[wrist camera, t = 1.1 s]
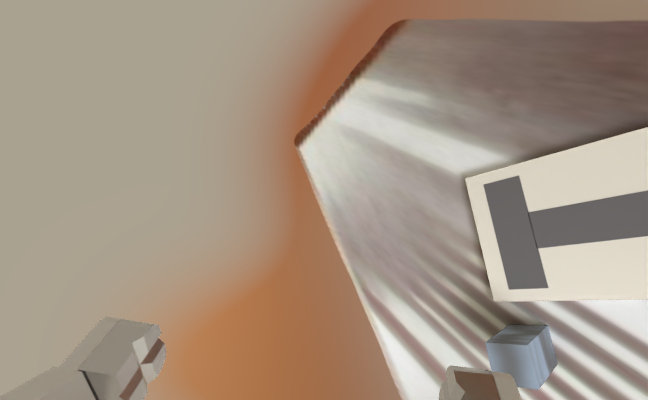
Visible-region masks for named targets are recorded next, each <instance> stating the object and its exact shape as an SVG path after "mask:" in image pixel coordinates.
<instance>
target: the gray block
mask: <svg viewBox="0 0 648 400" xmlns="http://www.w3.org/2000/svg"><path fill="white" fill-rule="evenodd" d="M485 344H486V348H487V352H488V357H489V361H490V366H491V370H492V372H501V373H508V374H510V375H511V376H512V377H513V378H514V381H515V383H516V386H517V387H522V388H529V389H536V390H539V388H540V387H541V386H542V384H543V383H544V382H545V380H546V379H547V378H548V376H549V375H550V374H551V372H552V371H553V370H554V368H555V367H556V366H557V360H556V356H555V352H554V348H553V344H552V340H551V336H550V333H549V329H548V326H539V325H508V326H507V327H506V328H504V329H503V330H501V331H500V332H499V333H497V334H496V335H495V336H493V337H492V338H491V339H489V340H488V341H487V342H485Z"/></svg>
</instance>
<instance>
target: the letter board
mask: <svg viewBox="0 0 648 400" xmlns="http://www.w3.org/2000/svg"><path fill="white" fill-rule="evenodd" d="M465 181H466V185H467V189H468V193H469V198H470V202H471V206H472V210H473V215H474V219H475V223H476V227H477V232H478V236H479V240H480V244H481V248H482V253H483V257H484V261H485V265H486V270H487V274H488V278H489V282H490V287H491V291H492V295H493V299H494V302H509V301H570V300H630V299H648V127H646V128H643V129H639V130H635V131H632V132H628V133H625V134H621V135H618V136H614V137H611V138H607V139H603V140H600V141H596V142H593V143H589V144H586V145H582V146H579V147H575V148H571V149H568V150H564V151H561V152H557V153H554V154H550V155H547V156H543V157H540V158H536V159H532V160H529V161H525V162H522V163H518V164H515V165H511V166H508V167H504V168H500V169H497V170H493V171H490V172H486V173H483V174H479V175H476V176H472V177H468V178H465Z"/></svg>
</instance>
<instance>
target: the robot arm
mask: <svg viewBox="0 0 648 400" xmlns="http://www.w3.org/2000/svg"><path fill="white" fill-rule="evenodd" d="M160 334H161V331H160V328H159V325H154V324H148V323H142V322H136V321H130V320H124V319H118V318H111V317H105V318H104V319H102V320H100V321H99V322H98V323H97V325H96V326H95V327H94V328H93V329H92V330H91V331H90V332H89V334H88V335H87V336H86V337H85V338H84V339H83V340H82V341H81V343H80V344H79V345H78V346H77V347H76V348H75V349H74V350H73V352H72V353H71V354H70V355H69V356H68V357H67V358H66V359H65V361H64V362H63V363H62V364H61V365H60V366H59V367H52V368H50V369H49V370H47V371H45V372H43V373H41V374H40V375H38V376H36V377H34V378H33V379H31V380H29V381H27V382H25V383H24V384H22V385H20V386H18V387H16V388H15V389H13V390H11V391H9V392H7V393H6V394H4V395H2V396H0V400H143V399H144V398H145V396H146V394H147V384H148V383H149V382H151V381H152V380H153V379H155V378H156V377H157V376H158V374H159V372H160V370H161V369H162V366H163V363H164V360H165V357H166V348H165V344H164V343H163V342H162V341H161V340H160V339H159V338H158V337H159V336H160ZM446 379H447V381H446V382H444V383H443V384H442V386H441V389H440V394H439V400H522V399H521V396H520V394H519V391H518V389H517V386H516V383H515V381H514V378H513V377H512V376H511V375H510V374H508V373H501V372H492V371H488V370H482V369H474V368H466V367H458V366H449V367H448V368H447V371H446Z"/></svg>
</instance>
